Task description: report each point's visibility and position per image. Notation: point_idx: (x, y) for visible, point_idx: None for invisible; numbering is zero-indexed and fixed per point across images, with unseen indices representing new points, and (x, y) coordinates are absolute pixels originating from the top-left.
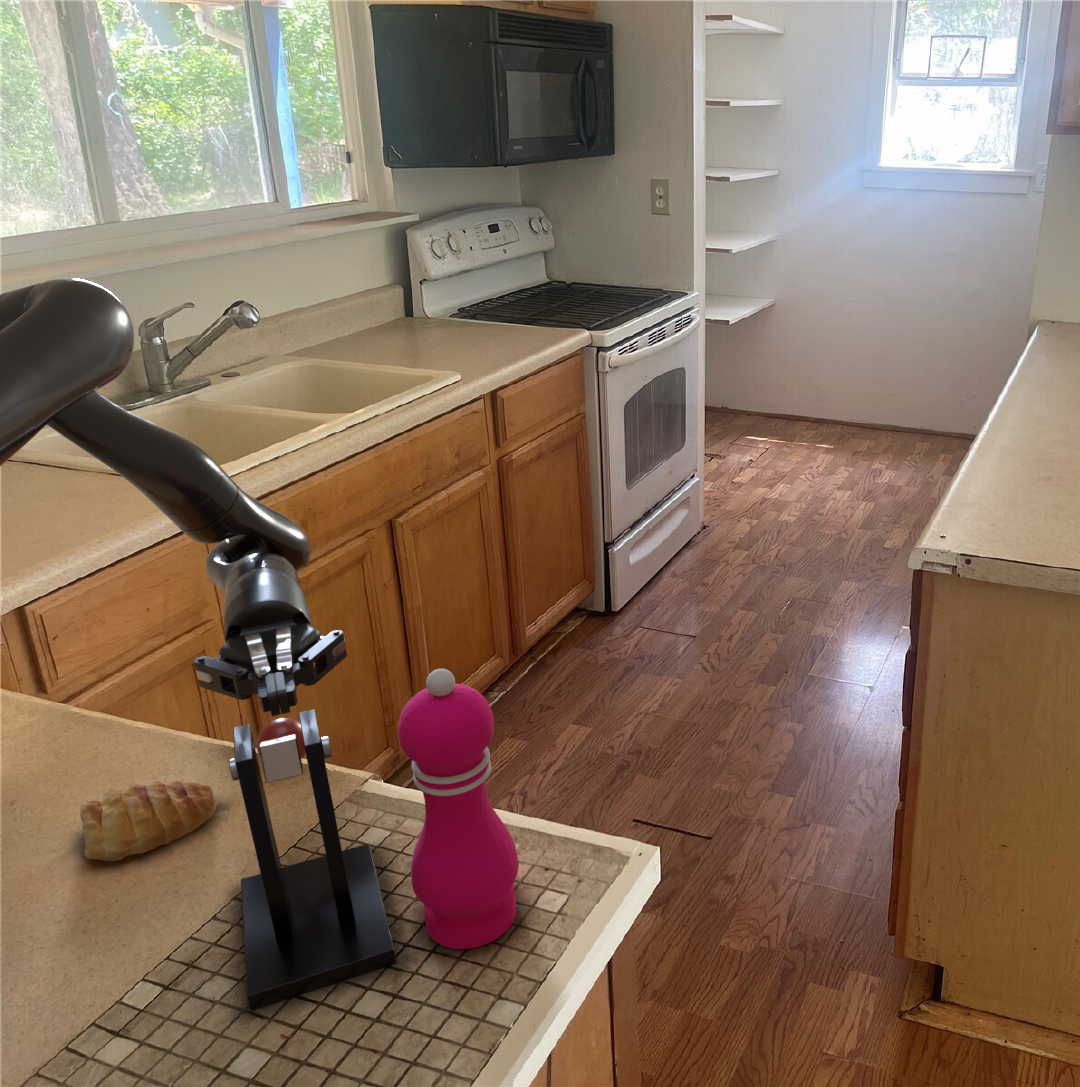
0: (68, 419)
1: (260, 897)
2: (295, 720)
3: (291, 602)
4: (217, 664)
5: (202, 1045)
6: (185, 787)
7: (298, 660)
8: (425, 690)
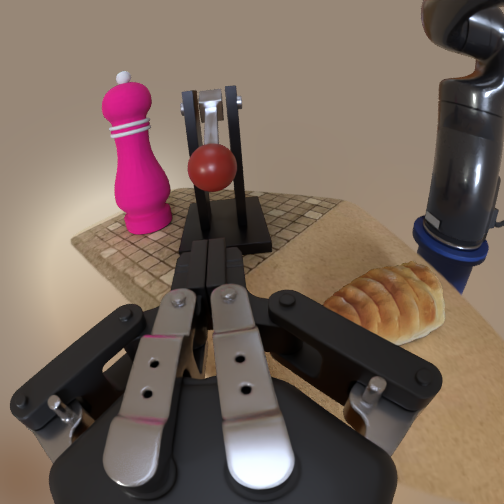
0: None
1: (255, 229)
2: (194, 151)
3: None
4: (362, 347)
5: (276, 198)
6: (351, 306)
7: (142, 312)
8: (128, 83)
